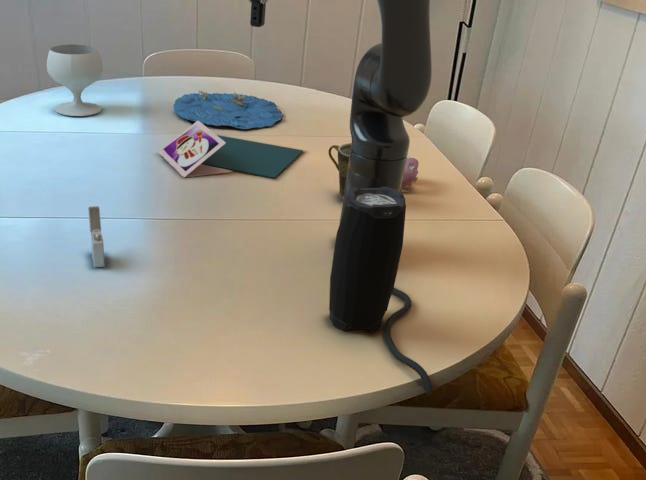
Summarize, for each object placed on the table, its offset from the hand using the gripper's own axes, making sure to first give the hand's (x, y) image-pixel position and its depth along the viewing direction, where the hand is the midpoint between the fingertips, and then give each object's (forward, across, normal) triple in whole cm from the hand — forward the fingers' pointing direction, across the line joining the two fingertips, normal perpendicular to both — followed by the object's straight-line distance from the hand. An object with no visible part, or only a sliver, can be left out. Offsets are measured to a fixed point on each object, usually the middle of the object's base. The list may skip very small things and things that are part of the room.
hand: (257, 26), depth 128 cm
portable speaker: (+31, +40, +33) cm, 61 cm away
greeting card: (+30, -5, -10) cm, 32 cm away
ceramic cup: (+31, -7, +20) cm, 38 cm away
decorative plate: (+31, -49, -24) cm, 63 cm away
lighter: (+31, +40, -11) cm, 52 cm away
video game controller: (+31, -19, +28) cm, 46 cm away
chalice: (+31, -30, -59) cm, 73 cm away
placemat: (+31, -19, -9) cm, 37 cm away
